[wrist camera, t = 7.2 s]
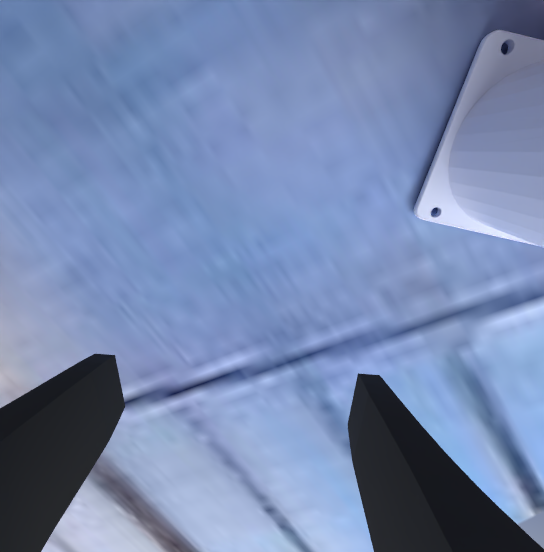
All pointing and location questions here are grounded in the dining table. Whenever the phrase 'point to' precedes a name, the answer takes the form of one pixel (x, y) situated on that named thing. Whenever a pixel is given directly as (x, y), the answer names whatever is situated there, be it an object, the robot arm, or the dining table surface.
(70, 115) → the dining table surface
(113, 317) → the dining table surface
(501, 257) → the dining table surface
